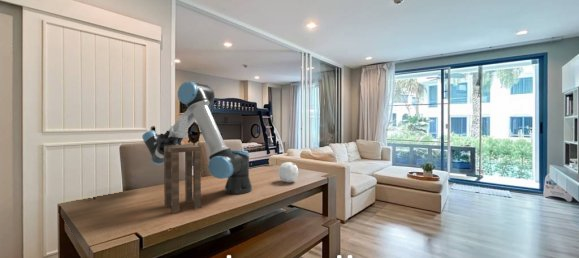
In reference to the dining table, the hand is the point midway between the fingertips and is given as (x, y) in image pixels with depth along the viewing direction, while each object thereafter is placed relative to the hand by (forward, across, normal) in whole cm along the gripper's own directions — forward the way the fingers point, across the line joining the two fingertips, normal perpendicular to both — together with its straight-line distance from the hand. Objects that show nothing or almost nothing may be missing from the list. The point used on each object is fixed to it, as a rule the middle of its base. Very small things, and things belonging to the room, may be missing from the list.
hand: (176, 128), depth 120 cm
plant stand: (-11, 0, -35) cm, 37 cm away
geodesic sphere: (-14, -68, -33) cm, 77 cm away
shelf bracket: (-1, 0, -4) cm, 4 cm away
